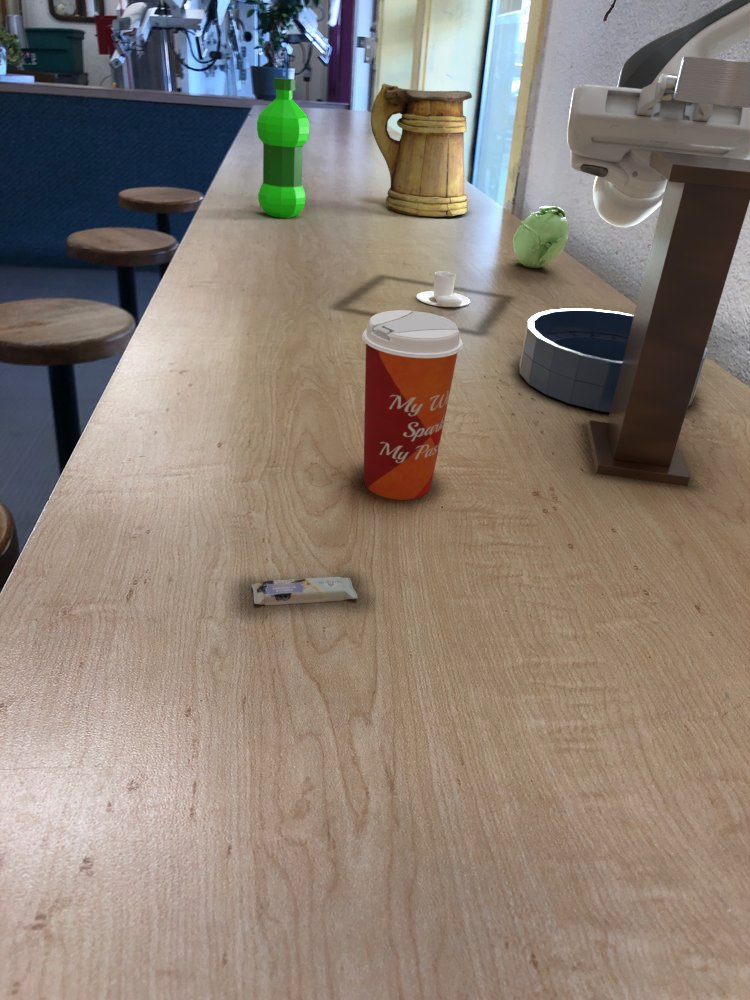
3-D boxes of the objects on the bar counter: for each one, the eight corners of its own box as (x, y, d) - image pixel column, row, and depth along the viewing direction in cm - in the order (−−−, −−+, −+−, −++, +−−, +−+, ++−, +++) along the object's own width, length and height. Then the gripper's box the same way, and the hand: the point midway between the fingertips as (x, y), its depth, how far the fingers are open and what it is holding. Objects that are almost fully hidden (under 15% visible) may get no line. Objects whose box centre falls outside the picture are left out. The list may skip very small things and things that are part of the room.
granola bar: (351, 584, 53) (352, 571, 53) (357, 605, 51) (358, 592, 51) (251, 589, 52) (251, 576, 51) (253, 611, 50) (253, 598, 49)
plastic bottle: (287, 210, 167) (290, 77, 155) (316, 220, 160) (322, 82, 148) (247, 213, 161) (246, 75, 149) (275, 223, 155) (277, 80, 142)
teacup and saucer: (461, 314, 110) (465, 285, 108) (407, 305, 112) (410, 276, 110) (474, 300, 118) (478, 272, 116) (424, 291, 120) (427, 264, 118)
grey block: (712, 96, 79) (721, 62, 77) (776, 110, 59) (790, 65, 58) (641, 89, 79) (648, 55, 78) (681, 101, 60) (692, 56, 58)
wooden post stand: (667, 441, 78) (750, 160, 65) (686, 489, 70) (786, 175, 57) (586, 430, 79) (652, 150, 66) (595, 476, 70) (672, 163, 57)
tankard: (472, 221, 173) (489, 94, 161) (365, 213, 171) (374, 84, 159) (461, 206, 189) (476, 89, 176) (363, 199, 187) (371, 80, 175)
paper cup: (391, 519, 61) (410, 346, 54) (332, 478, 66) (342, 315, 59) (462, 493, 66) (488, 330, 59) (402, 456, 71) (419, 303, 64)
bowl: (675, 367, 98) (688, 320, 95) (708, 431, 81) (725, 376, 78) (518, 347, 100) (526, 300, 97) (518, 406, 83) (528, 351, 80)
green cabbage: (487, 264, 138) (497, 199, 133) (527, 258, 145) (537, 196, 140) (541, 281, 131) (554, 213, 125) (580, 274, 138) (594, 208, 132)
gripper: (741, 186, 87) (795, 126, 74) (556, 167, 89) (575, 105, 76) (749, 130, 87) (805, 59, 74) (564, 112, 89) (585, 40, 76)
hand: (687, 82), depth 75 cm, fingers closed on grey block, 2 cm apart
